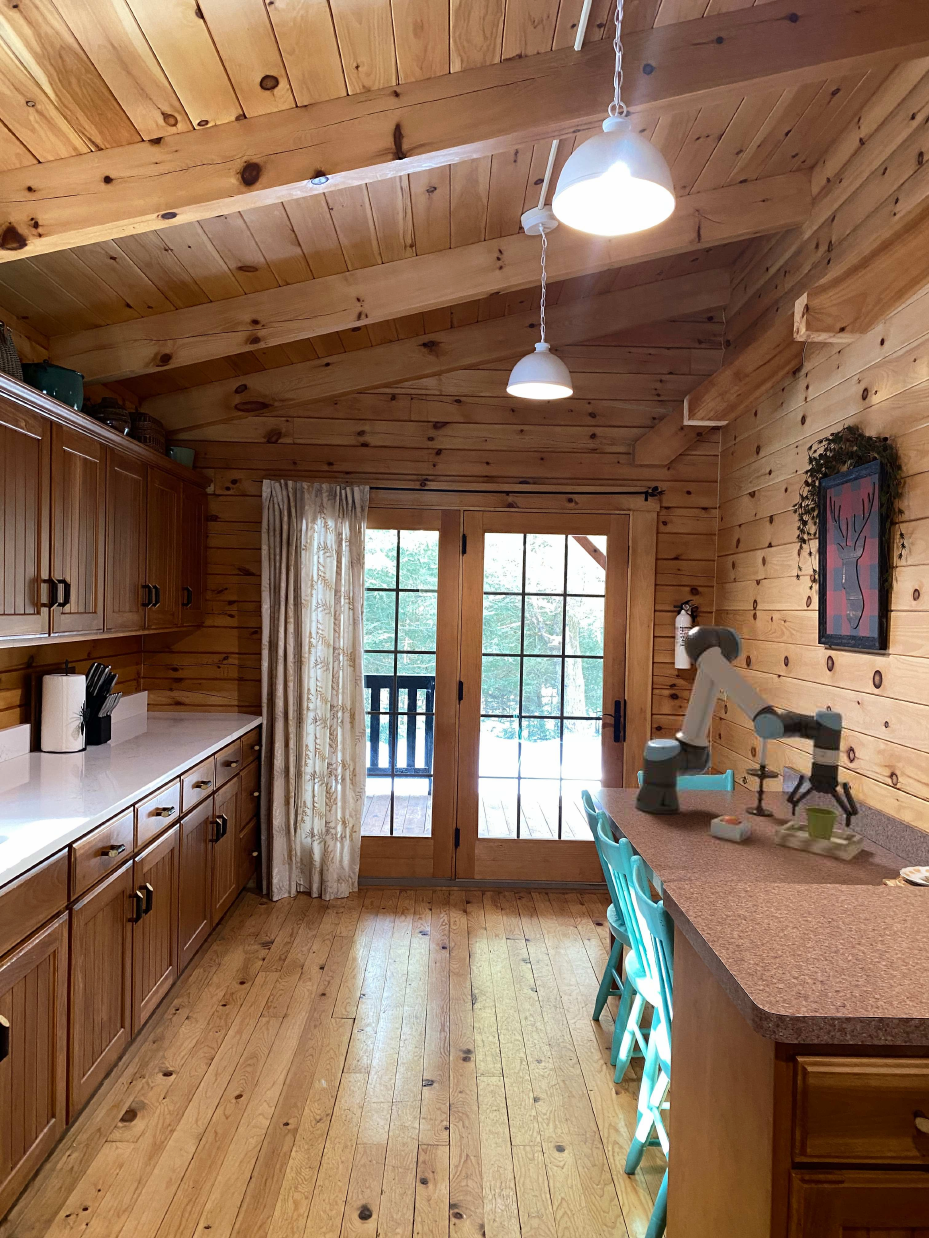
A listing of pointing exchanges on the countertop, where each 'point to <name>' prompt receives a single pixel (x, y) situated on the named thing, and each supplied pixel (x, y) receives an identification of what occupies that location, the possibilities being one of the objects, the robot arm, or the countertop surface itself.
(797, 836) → the tray
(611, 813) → the countertop surface
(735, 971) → the countertop surface
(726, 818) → the button
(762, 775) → the candlestick
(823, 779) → the robot arm
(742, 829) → the button housing
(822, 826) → the plant pot
